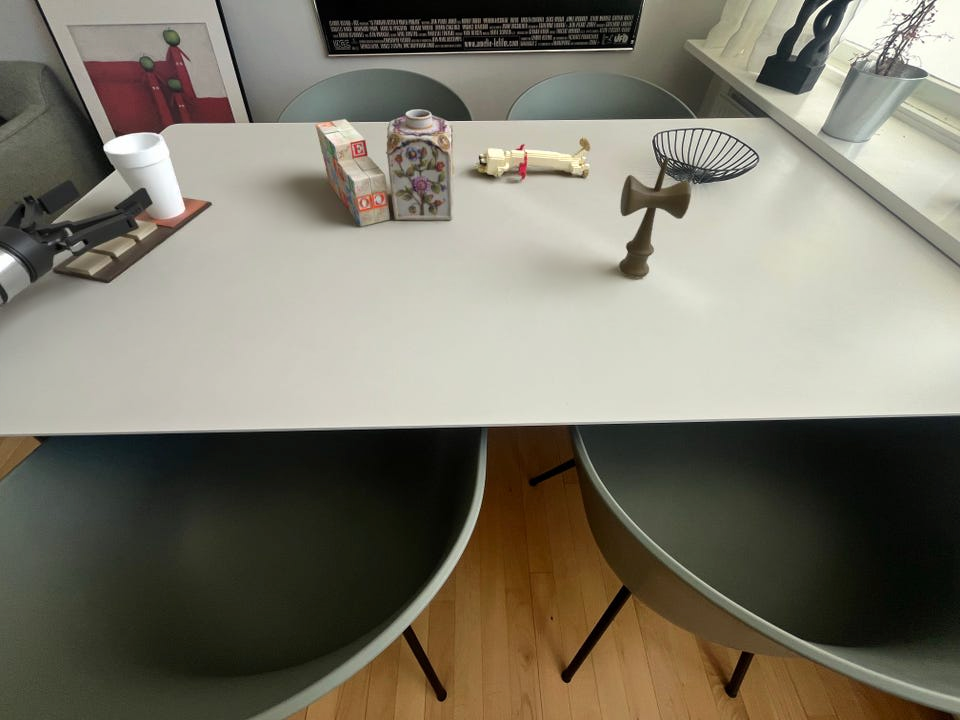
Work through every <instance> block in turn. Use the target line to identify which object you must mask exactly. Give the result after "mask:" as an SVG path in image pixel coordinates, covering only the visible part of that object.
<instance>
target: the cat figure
mask: <svg viewBox="0 0 960 720" xmlns="http://www.w3.org/2000/svg"><path fill="white" fill-rule="evenodd" d="M525 145H526V144H525V143H522V144H521V145H520V146H519V148H515V149H511V150H505V151H504V150H503V149H501V148H491V147H489V148H487V149H486V150H485V153H480V154H479V155H478V161H479V162H476V163H475V169H477V171H478V172H479V173H486V174H487V175H491V176H492V175H493V177H496V178H497V177H499V178H501V177H502V174H504V172H507V171H508V170H509V169H510V168H511V169H514V168H518V175H519V176H521V180H524V179H525V178H526V176H527V169H528V168H529V167H531V168H533V167H534V168H543V169H544V168H545V169H546V168H547V169H551V170H552V171H553V170H556V171H564V172H565V173H571V175H578V174H579V173H581V177H582V176H583V177H582V178H587V177H588V176H589V170H590V164H589V163H586V162H587V157H586V156H585V155H586V154H587V153H589V152H590V150H591V143H590V141H589V140H588V139H587V137H581V138H580V139H579V145H580V146H581V147H582V148H580V149H579V150H578V151H576V152H575V153H573V155H572V154H570V153H559V152H558V151H549V150H536V149H524V147H525ZM523 149H524V150H523ZM519 168H520V169H519Z"/></svg>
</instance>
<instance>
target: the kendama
mask: <svg viewBox="0 0 960 720" xmlns="http://www.w3.org/2000/svg"><path fill="white" fill-rule="evenodd" d="M668 165H669V156H665V157H664V159H663V161H662V163H661V167H660V170H659V173H658V176H657V179H656V181H655V185H654V187H650V186H646V184H645V185H644V184H643V183H642V182H641V181H640V180H639V179H637V178H636V177H635V176H634V175H632V174H629V175H628V176H626V179H625V180H624V183H623V187H622V190H621V196H620V205H619V206H620V214H621V217H627V216H630V215H632V214H634V213H636V212H638V211H639V210H642V209H646V210H645V213H644V216H643V217H642V220H641V222H640V224H639V227H638V229H637V231H636V233H635V235H634V237H633V238H632V240H629V241H628V242H626V245H625V249H626V251H627V253H626V255H625V256H624V258H622V259H621V260H620V261H619V263H618V268H619V271H620V272H621V273H622V274H623V275H625V276H627V277H631V278H643V277H646V276H647V275H648V274H649V273H650V266H649V265H648V263H647V262H648V259H649V257H650V256H652V255H653V254H654V252H655V248H654V245H652V233H653V227H654V221H655V216H656V211H657V209H659V210H662V211H665V212H666V213H668V214H669V215H671V216H672V217H674V218H675V219H678V220H679V219H683V218H684V216H685V215H686V213H687V211H688V209H689V206H690V204H691V203H690V202H691V197H692V186H691V183H690V181H688V180H683V181H680V182H677V183H675V184H673V185H670V186H667V187H663V183H664V180H665V176H666V172H667V169H668Z"/></svg>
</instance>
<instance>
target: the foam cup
mask: <svg viewBox="0 0 960 720" xmlns="http://www.w3.org/2000/svg"><path fill="white" fill-rule="evenodd" d="M102 148H103V151H104V153H105V155H106V157H107V159H108V161H109V162H110V164H111V165H112V166H114V168H115V170H116V171H117V172H118V173H119V175H120V176H121V177H122V179H123V180H124V182H125V183H126V185H127V186H128V187H129V189H130V190H131V192H132V194H133V193H135V192H136V191H137V190H139V189H140V188H145V189H146V190H147V192H148V194H149V196H150V198H151V200H152V202H153V204H152V205H150V206H149V207H148V208H146V209H145V210H146V211H147V213H148V214H149V215H150V217H152V218H154V219H169V218H173V217H176V216H178V215H180V214H181V213H183V212H184V210H185V206H184V202H183V199H182V197H183V196H182V192H181V189H180V186H179V183H178V179H177V176H176V172H175V170H174V167H173V163H172V160H171V156H170V153H171V152H170V150H169V147H168V145H167V143H166V141H165V139H164V137H163V135H161V134H158V133H156V132H146V131H145V132H144V131H143V132H135V133H128V134H124V135H120V136H117V137H115V138H113V139H110V140H108V141H107V142H106V143H105V144H103V147H102Z"/></svg>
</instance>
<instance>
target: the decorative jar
mask: <svg viewBox="0 0 960 720" xmlns="http://www.w3.org/2000/svg"><path fill="white" fill-rule="evenodd" d="M386 129H387V134H386V139H387V141H386V152H385V153H386V158H387V166H388V176H389V184H390V193H391V194H390V195H391V202H392V209H393V216H394V220H395V221H452V220H453V219H454V218H453V217H454V214H453V213H454V173H455V172H454V170H455V166H454V155H453V153H454V152H453V145H454V144H453V143H454V142H453V141H454V137H453V132H454V130H453V125H452V123H451V122H450V121H448V120H446V119H444V118H442V117H439V116H437V115H433V114H432V112H430V111H429V110H427V109H419V108H418V109H410V110H408V111H405V115H404V116H401V117H397V118H395V119H392V120H390V121H389V124H388V126H387V128H386Z"/></svg>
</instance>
